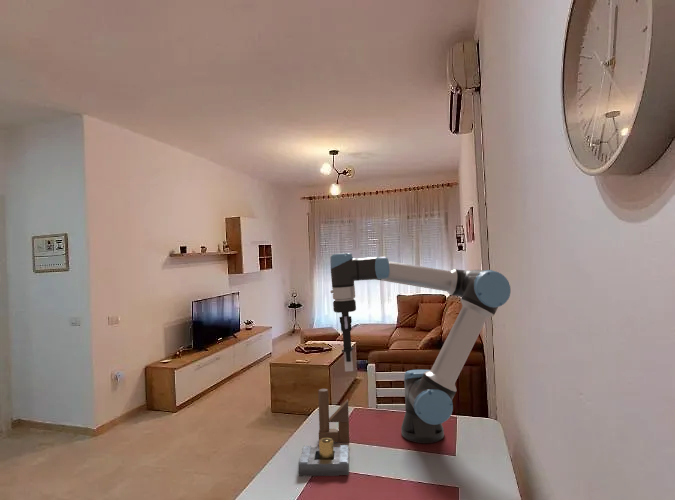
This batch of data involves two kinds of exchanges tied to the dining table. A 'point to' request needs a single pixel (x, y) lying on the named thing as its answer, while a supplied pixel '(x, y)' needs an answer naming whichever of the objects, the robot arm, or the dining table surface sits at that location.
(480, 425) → the dining table surface
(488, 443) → the dining table surface
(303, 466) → the jig
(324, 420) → the brown wooden stand
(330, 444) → the bushing
